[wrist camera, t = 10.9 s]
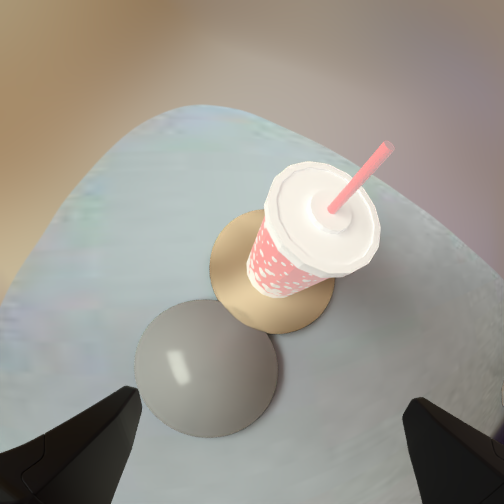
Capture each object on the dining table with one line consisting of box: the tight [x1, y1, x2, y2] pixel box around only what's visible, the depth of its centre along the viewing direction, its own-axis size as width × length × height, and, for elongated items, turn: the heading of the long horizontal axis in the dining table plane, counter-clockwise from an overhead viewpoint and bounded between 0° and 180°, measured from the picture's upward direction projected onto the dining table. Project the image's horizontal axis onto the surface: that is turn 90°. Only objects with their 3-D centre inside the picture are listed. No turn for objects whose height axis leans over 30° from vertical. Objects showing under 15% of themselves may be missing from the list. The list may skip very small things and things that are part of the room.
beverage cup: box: [247, 140, 395, 298], centre depth 14 cm, size 6×6×14 cm
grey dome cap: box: [134, 300, 278, 438], centre depth 17 cm, size 10×10×1 cm
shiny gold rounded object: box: [209, 209, 335, 334], centre depth 21 cm, size 10×10×1 cm
